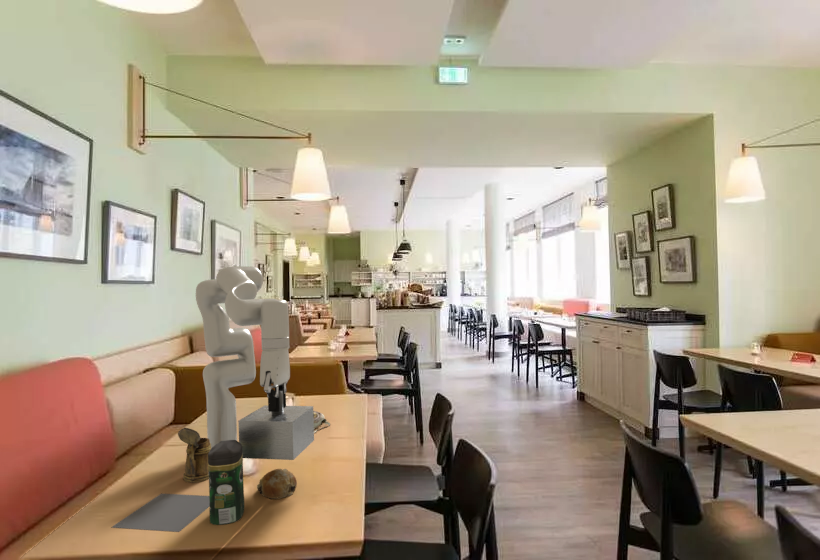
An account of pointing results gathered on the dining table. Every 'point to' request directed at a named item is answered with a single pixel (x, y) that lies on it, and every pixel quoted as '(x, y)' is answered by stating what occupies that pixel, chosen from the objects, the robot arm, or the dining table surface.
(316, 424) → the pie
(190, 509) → the mat
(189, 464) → the wooden mug
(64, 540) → the dining table surface
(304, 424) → the cover
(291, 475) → the bread roll
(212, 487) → the coffee jar
